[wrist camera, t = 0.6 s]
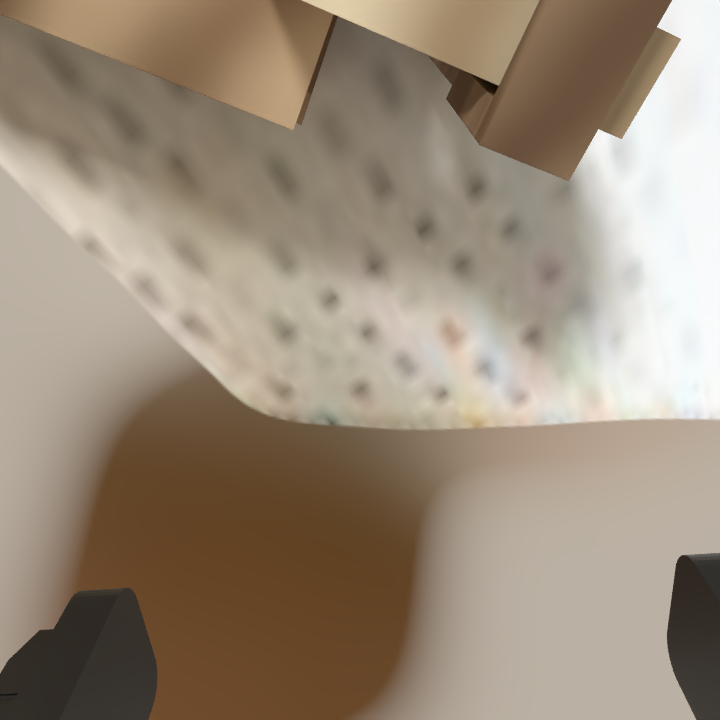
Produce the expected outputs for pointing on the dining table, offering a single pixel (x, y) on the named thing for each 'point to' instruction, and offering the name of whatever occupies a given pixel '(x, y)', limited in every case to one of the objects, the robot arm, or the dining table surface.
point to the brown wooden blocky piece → (550, 80)
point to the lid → (199, 44)
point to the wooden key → (490, 41)
